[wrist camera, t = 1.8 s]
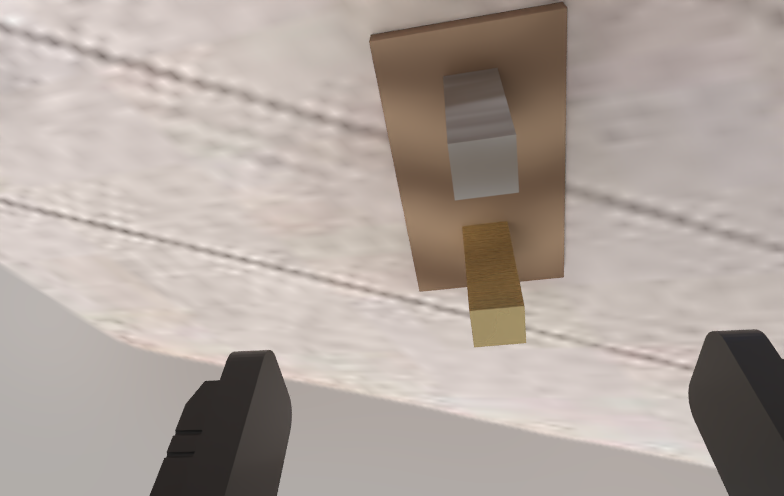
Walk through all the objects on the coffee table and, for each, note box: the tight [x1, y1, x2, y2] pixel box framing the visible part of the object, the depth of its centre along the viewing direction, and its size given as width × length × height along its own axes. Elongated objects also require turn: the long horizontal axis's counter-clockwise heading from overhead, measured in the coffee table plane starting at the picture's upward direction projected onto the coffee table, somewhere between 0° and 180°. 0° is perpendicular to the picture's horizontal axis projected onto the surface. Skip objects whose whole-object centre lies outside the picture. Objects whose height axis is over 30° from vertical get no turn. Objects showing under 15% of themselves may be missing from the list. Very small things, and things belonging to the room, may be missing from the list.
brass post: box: [462, 221, 526, 347], centre depth 30 cm, size 3×3×7 cm
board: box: [369, 2, 567, 292], centre depth 28 cm, size 16×9×8 cm, turn 10°
